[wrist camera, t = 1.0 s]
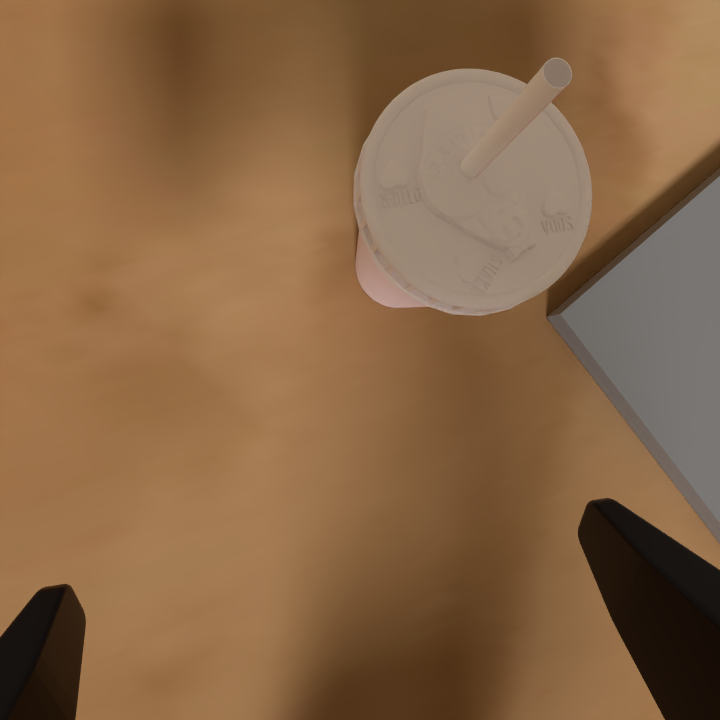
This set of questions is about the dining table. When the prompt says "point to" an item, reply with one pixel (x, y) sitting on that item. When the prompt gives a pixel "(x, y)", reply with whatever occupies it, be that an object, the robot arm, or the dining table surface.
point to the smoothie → (471, 192)
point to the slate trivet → (662, 342)
